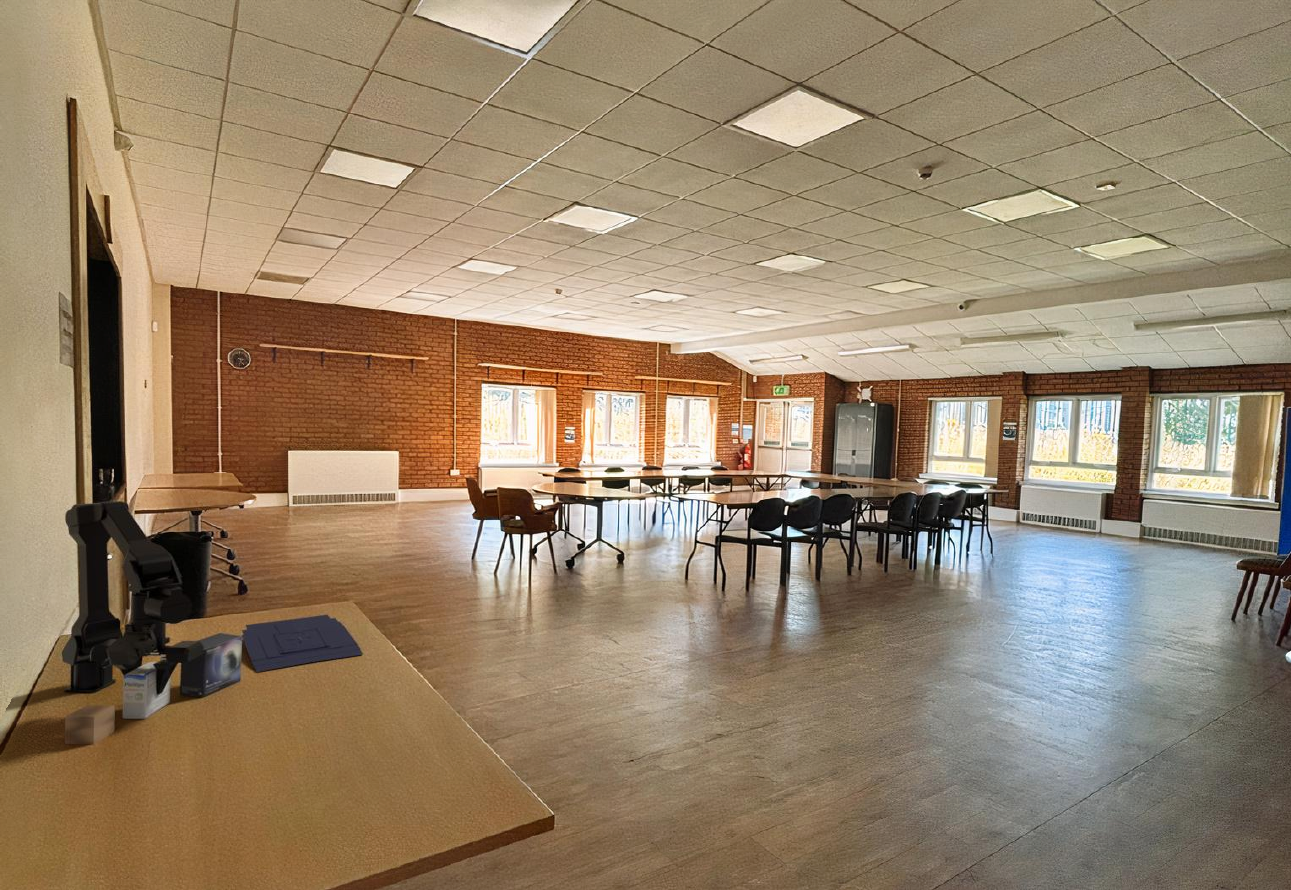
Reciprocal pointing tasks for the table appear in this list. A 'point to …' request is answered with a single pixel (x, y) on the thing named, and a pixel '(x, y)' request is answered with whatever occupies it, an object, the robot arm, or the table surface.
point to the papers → (297, 642)
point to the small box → (213, 666)
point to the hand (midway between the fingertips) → (147, 693)
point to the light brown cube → (89, 724)
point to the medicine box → (143, 692)
